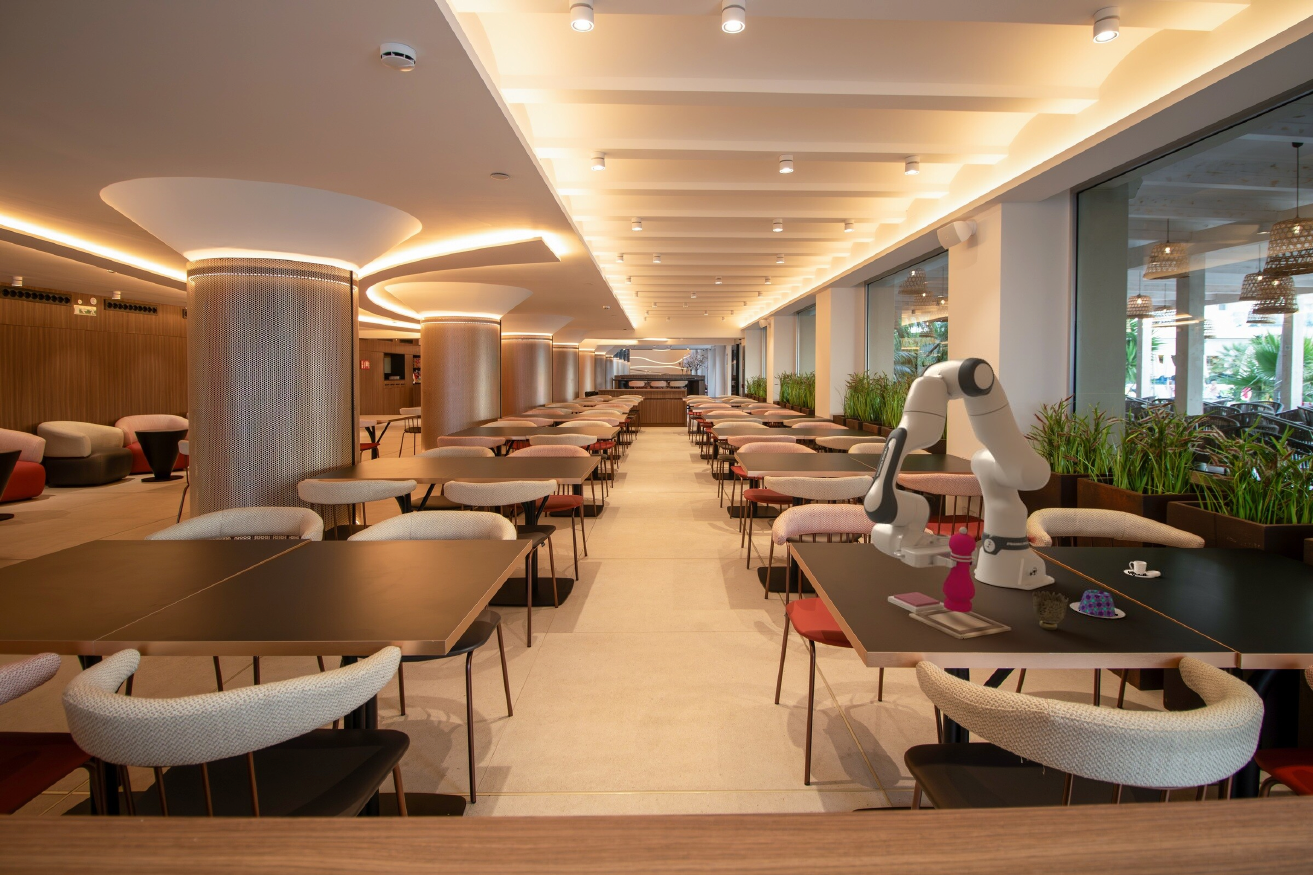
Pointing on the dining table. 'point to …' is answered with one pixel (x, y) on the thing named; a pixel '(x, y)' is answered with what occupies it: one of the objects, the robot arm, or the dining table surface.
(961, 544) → the pepper mill
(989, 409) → the robot arm
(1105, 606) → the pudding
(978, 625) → the board
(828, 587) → the dining table surface
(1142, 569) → the teacup and saucer
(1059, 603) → the cup
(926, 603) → the ink pad
